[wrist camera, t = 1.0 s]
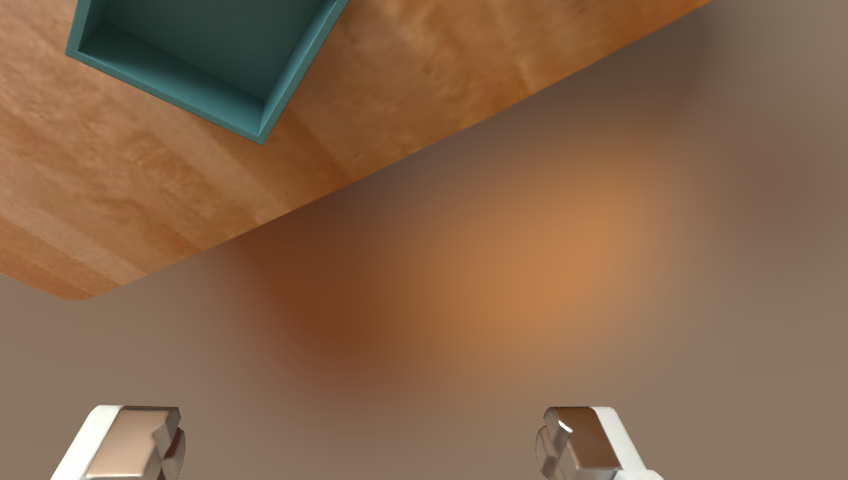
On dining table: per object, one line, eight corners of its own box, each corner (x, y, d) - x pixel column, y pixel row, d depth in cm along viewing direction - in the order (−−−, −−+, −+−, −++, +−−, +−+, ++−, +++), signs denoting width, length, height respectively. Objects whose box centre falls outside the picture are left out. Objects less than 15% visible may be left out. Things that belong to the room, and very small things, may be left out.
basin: (149, -176, 35) (119, -161, 30) (349, -32, 44) (350, -2, 39) (94, 18, 44) (63, 54, 39) (269, 107, 52) (262, 146, 47)
